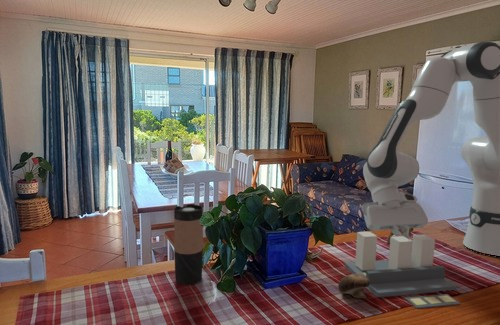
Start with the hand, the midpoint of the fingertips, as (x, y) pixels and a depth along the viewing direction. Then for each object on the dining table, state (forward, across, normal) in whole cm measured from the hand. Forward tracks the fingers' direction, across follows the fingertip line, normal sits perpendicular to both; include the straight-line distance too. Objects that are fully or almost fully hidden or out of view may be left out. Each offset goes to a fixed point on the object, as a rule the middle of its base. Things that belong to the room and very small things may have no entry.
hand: (405, 240), depth 106 cm
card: (+20, -7, -10) cm, 23 cm away
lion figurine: (-7, +12, +18) cm, 23 cm away
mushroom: (+16, -25, -5) cm, 30 cm away
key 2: (+10, 0, -2) cm, 10 cm away
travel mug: (+5, -66, +6) cm, 66 cm away
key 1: (+7, -15, +2) cm, 17 cm away
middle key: (+10, -8, -2) cm, 13 cm away
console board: (+11, -8, 0) cm, 14 cm away
